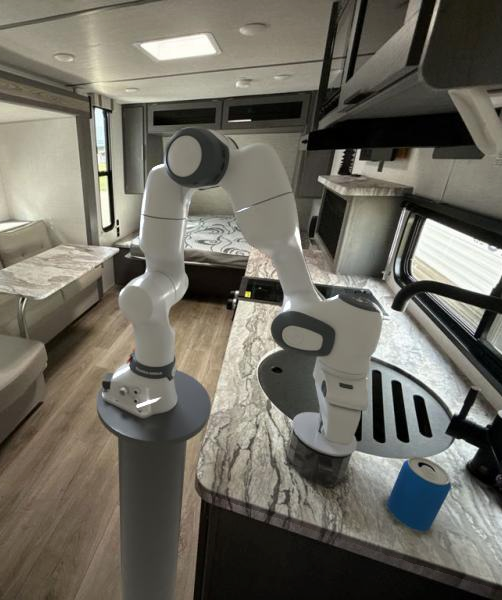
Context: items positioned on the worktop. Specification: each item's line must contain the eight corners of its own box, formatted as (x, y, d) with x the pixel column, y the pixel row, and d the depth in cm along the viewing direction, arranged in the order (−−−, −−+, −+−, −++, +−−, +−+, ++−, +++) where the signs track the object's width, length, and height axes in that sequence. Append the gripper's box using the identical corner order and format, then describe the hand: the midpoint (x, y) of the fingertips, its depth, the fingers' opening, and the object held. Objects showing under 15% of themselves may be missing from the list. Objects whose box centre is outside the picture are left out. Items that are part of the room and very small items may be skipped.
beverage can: (422, 507, 60) (444, 461, 56) (435, 540, 54) (461, 492, 50) (382, 494, 62) (400, 449, 58) (391, 524, 57) (412, 477, 53)
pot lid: (293, 447, 64) (297, 430, 62) (290, 410, 74) (294, 394, 73) (362, 467, 59) (368, 448, 58) (349, 424, 70) (354, 408, 68)
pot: (288, 484, 64) (294, 457, 62) (285, 428, 79) (291, 405, 76) (352, 505, 60) (362, 477, 58) (337, 442, 75) (344, 418, 72)
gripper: (315, 347, 71) (304, 396, 76) (328, 400, 54) (312, 460, 59) (347, 352, 69) (333, 402, 74) (371, 410, 51) (350, 471, 56)
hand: (324, 428), depth 66 cm, fingers closed on pot lid, 2 cm apart
